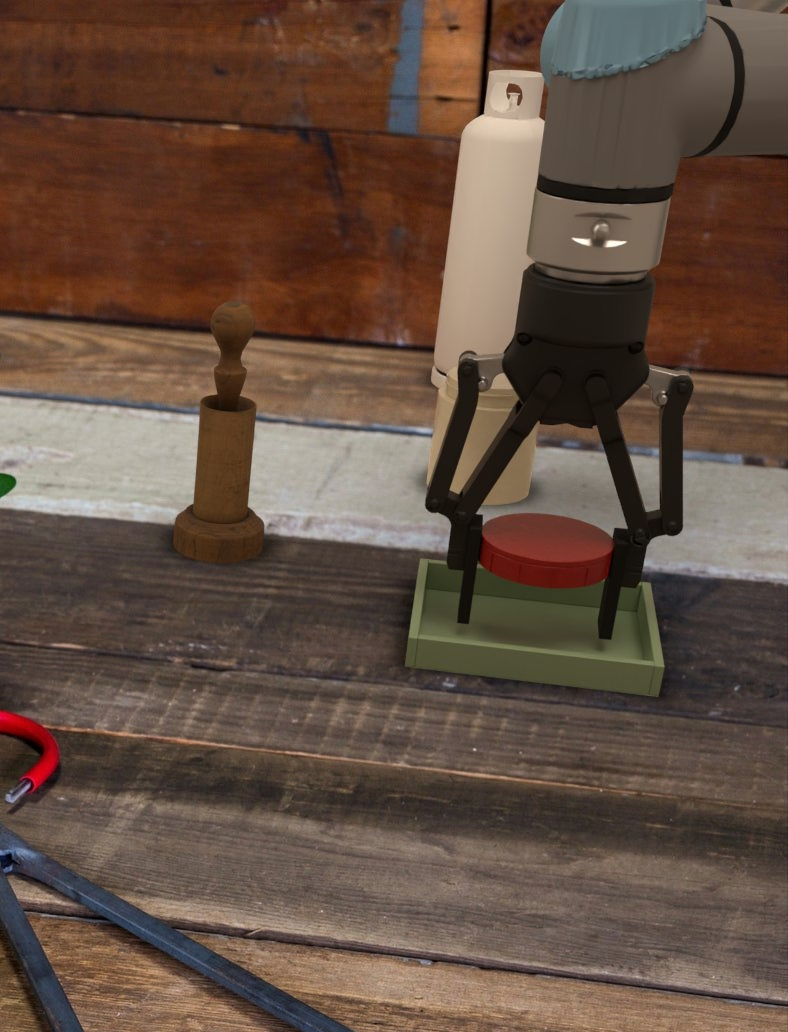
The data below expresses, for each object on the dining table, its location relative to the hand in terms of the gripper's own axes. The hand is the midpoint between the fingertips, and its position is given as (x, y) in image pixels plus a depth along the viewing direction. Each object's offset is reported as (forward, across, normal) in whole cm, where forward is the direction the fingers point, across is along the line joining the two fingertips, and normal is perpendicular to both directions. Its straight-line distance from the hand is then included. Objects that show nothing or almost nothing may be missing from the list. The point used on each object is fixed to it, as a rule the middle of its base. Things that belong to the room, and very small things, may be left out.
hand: (533, 622), depth 108 cm
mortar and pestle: (+2, -22, +10) cm, 24 cm away
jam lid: (-6, 0, 0) cm, 6 cm away
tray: (+1, 0, 0) cm, 1 cm away
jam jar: (+2, -4, +28) cm, 28 cm away
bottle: (+2, -5, +57) cm, 57 cm away
